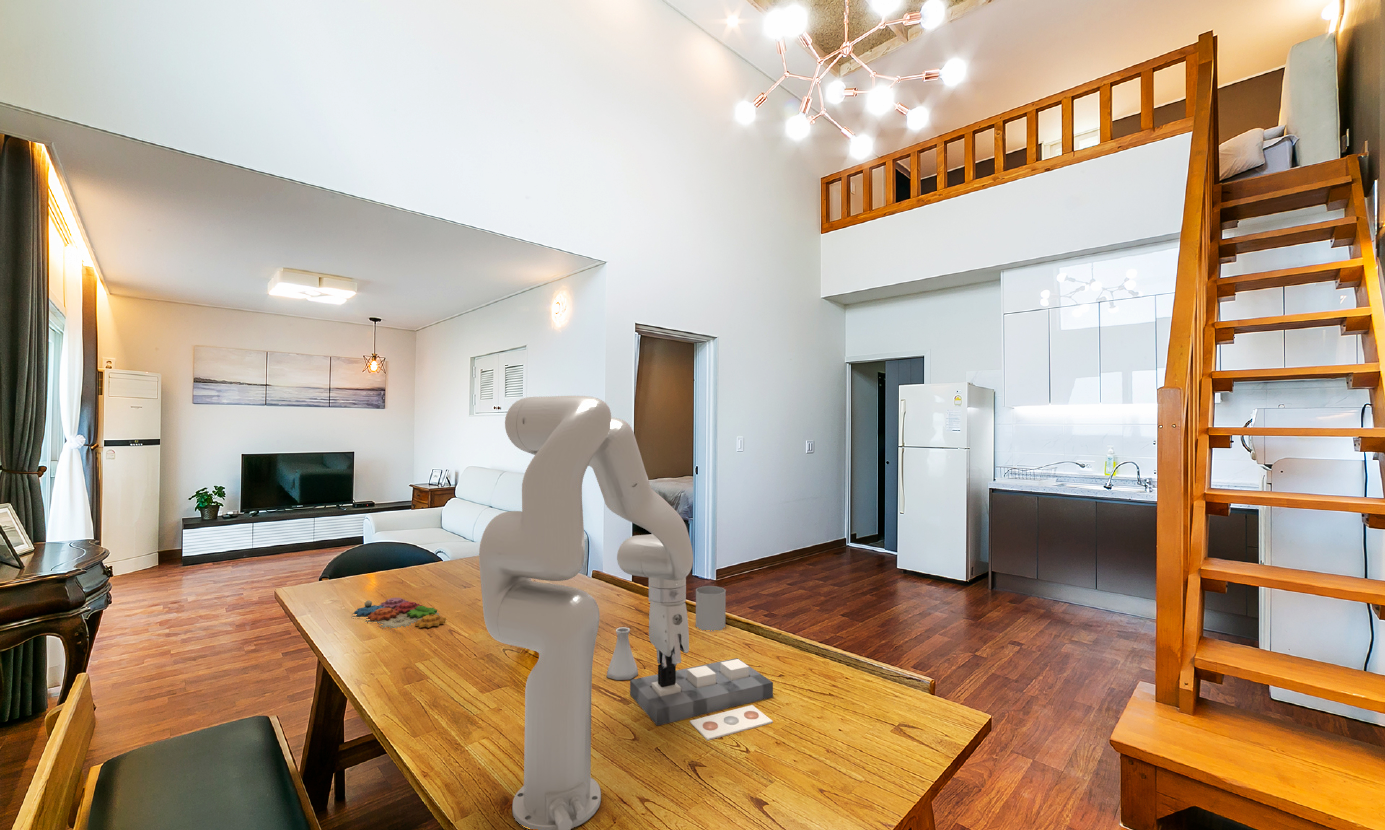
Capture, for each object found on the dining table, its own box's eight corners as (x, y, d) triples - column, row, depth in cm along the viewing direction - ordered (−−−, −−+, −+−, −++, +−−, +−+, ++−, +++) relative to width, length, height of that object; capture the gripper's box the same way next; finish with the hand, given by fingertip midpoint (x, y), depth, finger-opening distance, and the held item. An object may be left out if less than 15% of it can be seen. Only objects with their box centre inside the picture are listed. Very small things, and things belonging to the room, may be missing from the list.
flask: (633, 683, 125) (633, 636, 125) (601, 679, 126) (601, 633, 126) (642, 669, 132) (643, 625, 132) (612, 666, 133) (613, 623, 133)
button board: (772, 697, 118) (772, 682, 119) (657, 726, 107) (657, 709, 107) (737, 671, 131) (737, 658, 131) (630, 694, 119) (630, 679, 119)
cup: (690, 623, 163) (691, 587, 163) (716, 619, 166) (716, 584, 167) (703, 633, 155) (704, 595, 156) (730, 628, 159) (730, 592, 159)
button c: (680, 705, 114) (680, 687, 114) (660, 710, 112) (660, 691, 112) (671, 696, 118) (671, 678, 118) (651, 700, 116) (651, 682, 116)
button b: (715, 691, 118) (715, 673, 118) (696, 695, 116) (696, 677, 116) (705, 682, 122) (705, 665, 122) (687, 686, 120) (687, 669, 120)
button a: (748, 683, 122) (748, 666, 122) (730, 687, 120) (731, 670, 120) (737, 675, 125) (738, 658, 126) (720, 679, 123) (720, 662, 124)
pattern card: (772, 722, 108) (772, 720, 108) (707, 740, 102) (707, 737, 102) (752, 706, 114) (752, 704, 114) (689, 722, 108) (689, 719, 108)
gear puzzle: (461, 622, 164) (461, 607, 164) (408, 639, 150) (408, 624, 151) (398, 603, 181) (399, 590, 181) (345, 618, 167) (345, 603, 167)
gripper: (701, 600, 111) (700, 696, 111) (668, 581, 124) (668, 667, 124) (665, 606, 107) (665, 705, 107) (636, 585, 121) (635, 673, 120)
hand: (666, 684), depth 115 cm, fingers closed
